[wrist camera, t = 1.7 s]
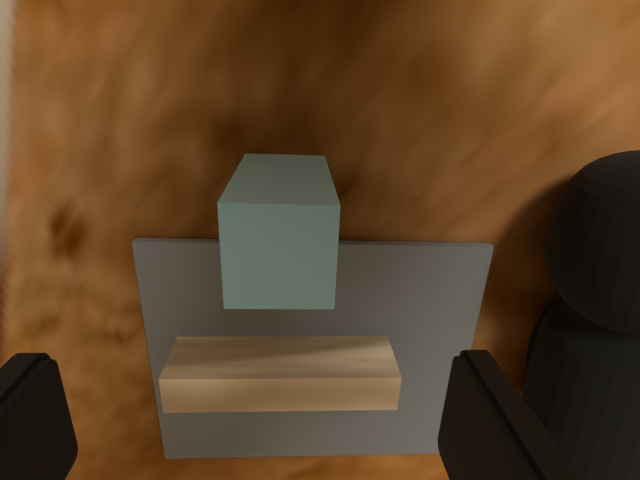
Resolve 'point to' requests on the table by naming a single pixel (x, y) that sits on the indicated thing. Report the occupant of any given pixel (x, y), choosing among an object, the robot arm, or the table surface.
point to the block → (279, 233)
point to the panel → (344, 320)
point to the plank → (280, 374)
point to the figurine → (592, 323)
